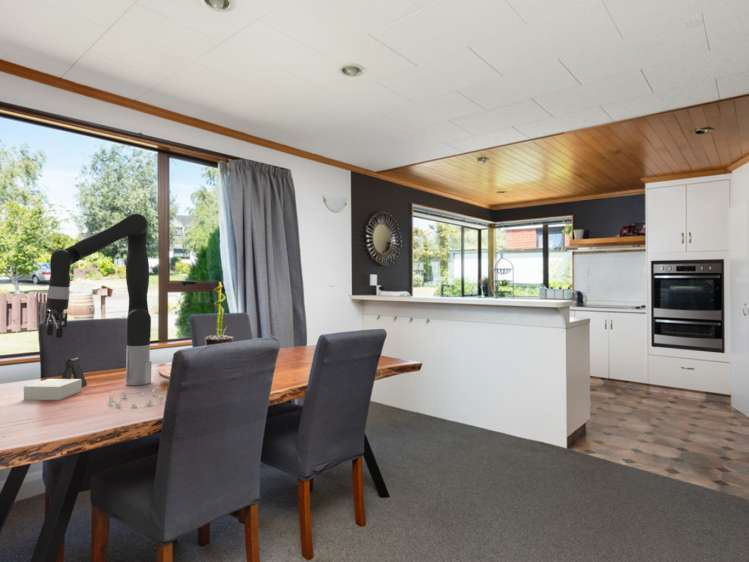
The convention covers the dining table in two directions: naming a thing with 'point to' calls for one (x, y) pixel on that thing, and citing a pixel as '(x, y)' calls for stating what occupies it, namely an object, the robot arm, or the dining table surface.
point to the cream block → (52, 389)
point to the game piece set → (132, 403)
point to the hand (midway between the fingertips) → (53, 336)
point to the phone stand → (74, 370)
